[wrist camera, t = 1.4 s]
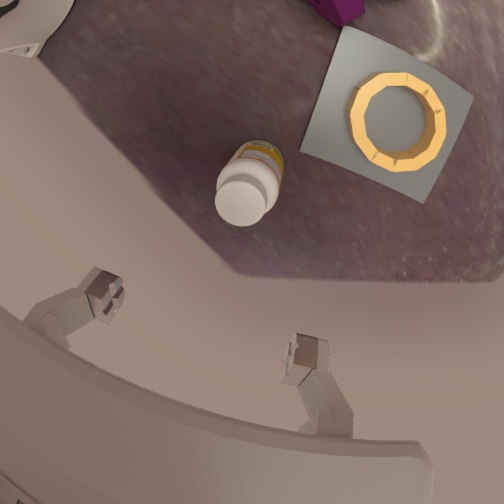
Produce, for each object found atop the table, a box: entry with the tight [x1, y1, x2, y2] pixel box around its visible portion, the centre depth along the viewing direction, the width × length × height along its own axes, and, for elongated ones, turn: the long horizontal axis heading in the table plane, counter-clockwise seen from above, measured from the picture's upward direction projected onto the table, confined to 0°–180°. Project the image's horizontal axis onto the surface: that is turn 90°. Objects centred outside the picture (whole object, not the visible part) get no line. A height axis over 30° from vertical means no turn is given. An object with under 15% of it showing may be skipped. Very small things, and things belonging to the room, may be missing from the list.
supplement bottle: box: [215, 140, 284, 226], centre depth 25 cm, size 5×5×10 cm
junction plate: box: [299, 25, 474, 204], centre depth 22 cm, size 15×14×4 cm
